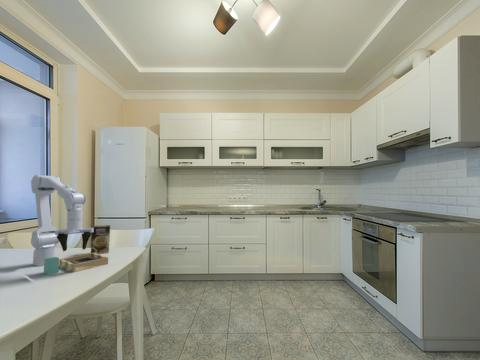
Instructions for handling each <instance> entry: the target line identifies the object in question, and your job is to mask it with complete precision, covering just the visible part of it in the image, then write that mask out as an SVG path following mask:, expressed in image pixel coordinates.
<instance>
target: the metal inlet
mask: <svg viewBox="0 0 480 360" xmlns="http://www.w3.org/2000/svg"><path fill="white" fill-rule="evenodd" d="M92 260H97V259H95V258H93V257H90V256H89V257H85V258H80V259H75V260H70V263H73V264H79V263H83V262H88V261H92Z"/></svg>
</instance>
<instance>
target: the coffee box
mask: <svg viewBox="0 0 480 360" xmlns="http://www.w3.org/2000/svg"><path fill="white" fill-rule="evenodd" d="M91 228H94V232H92V234H91V244H90V253H96V254H99V255H103V254H110V239H111V238H110V237H111V235H110V234H111V224H110V225H109V224H108V225H107V224H105V225H93V226H92V227H91Z"/></svg>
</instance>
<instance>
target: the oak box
mask: <svg viewBox="0 0 480 360" xmlns="http://www.w3.org/2000/svg"><path fill="white" fill-rule="evenodd" d="M89 256H90V257H93V258H95V259H97V260H92V261H88V262H83V263H79V264H73V263H70V260H75V259H80V258H85V257H89ZM107 265H109V257H108V256H106V255H103V254H96V253H91V252H90V253H83V254H81V255H75V256H69V257H65V258H59V268H61V269H64V270H66V271H69V272H71V273H74V274H75V273H77V272H81V271H86V270H89V269H94V268H98V267H102V266H107Z"/></svg>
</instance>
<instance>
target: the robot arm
mask: <svg viewBox="0 0 480 360" xmlns="http://www.w3.org/2000/svg"><path fill="white" fill-rule="evenodd" d="M30 183H31V184H30V185H31V192H32V193H33V194H34V196H35V207H36V215H37V224H38V225H37V226H38V228H36V229H35V230H33V231H32V232H31V240H30V244H31V246H32V248H34V250H33V254H32V255H33V256H32V257H33V258H32V263H30V266H35V267H44V259H46V258H51V257H55V249H56V247H57V245H58V243H60V246H61V249H62V252H66V251H67V250H68V238H69V237H68V236H69V235H72V234H73V235H74V234H81V240H82V247H81V248H82V250H86V249H87V245H88V242H89V239H90V238H91V237H92V232H94V228H92V227H83V220H84V219H83V214H84V213H83V211H84V209H83V208H84V206H83V205H85V203H86V200H87V199H86V194H85V193H84V192H77V190H76V189H74V188H72V187H71V185H68V184H67V185H66V184H63V182H61V178H60V177H59V176H57V175H40V174H35V175H34V176H32V179H31V181H30ZM55 191H57V195H58V196H59V197H60V198H62V199H63V202H64V204H65V210H66V211H67V212H66V215H67V216H66V229H58V228H57V227H55V226H53V225H52V215H51V207H50V197H49V195H50V194H52V193H54V192H55Z"/></svg>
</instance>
